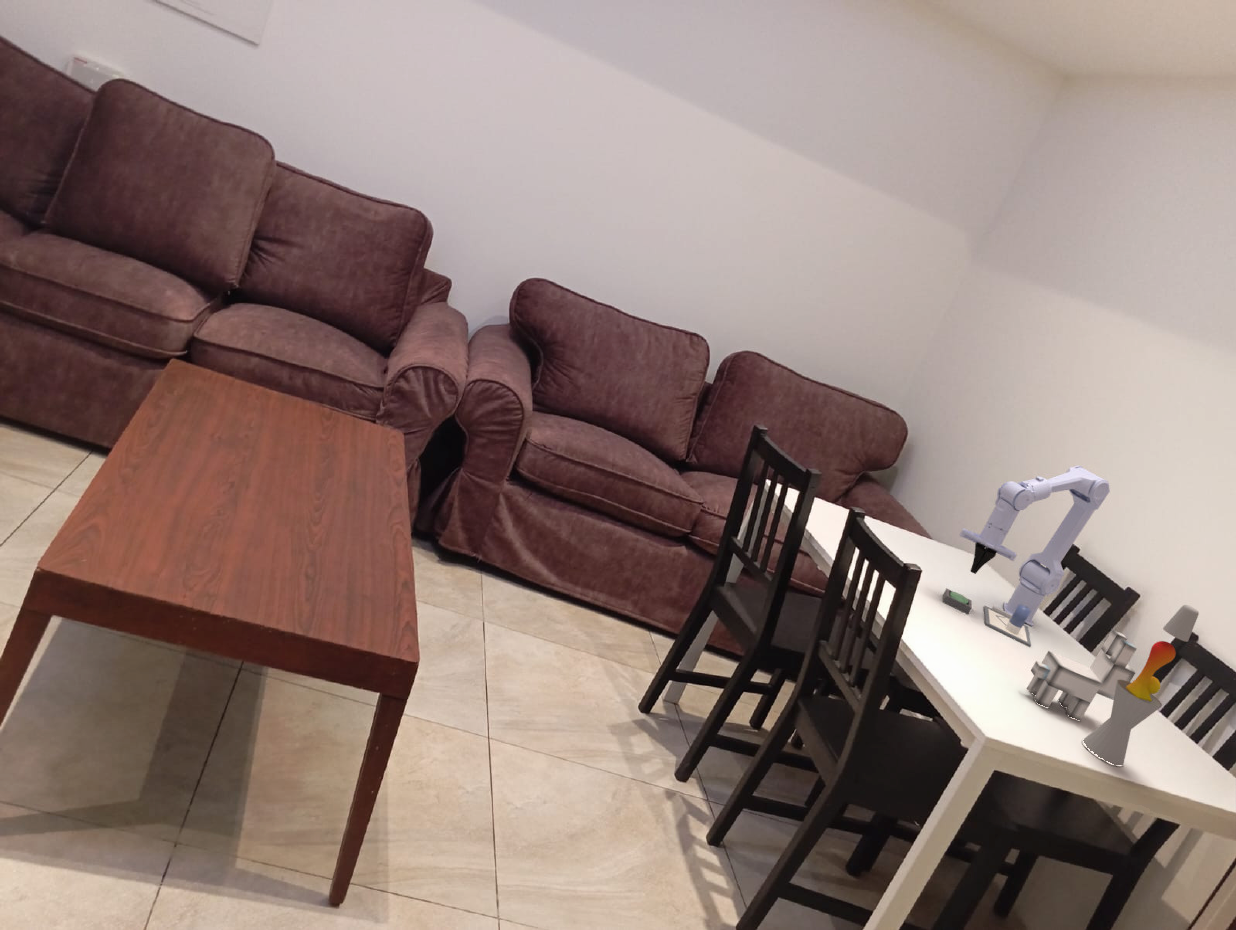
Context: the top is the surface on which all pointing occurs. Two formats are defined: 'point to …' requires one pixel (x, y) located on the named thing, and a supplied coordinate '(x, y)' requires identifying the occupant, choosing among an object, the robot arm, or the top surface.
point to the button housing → (956, 602)
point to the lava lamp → (1138, 694)
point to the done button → (959, 597)
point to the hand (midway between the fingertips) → (973, 572)
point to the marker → (1018, 619)
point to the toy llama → (1082, 676)
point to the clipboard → (1004, 624)
